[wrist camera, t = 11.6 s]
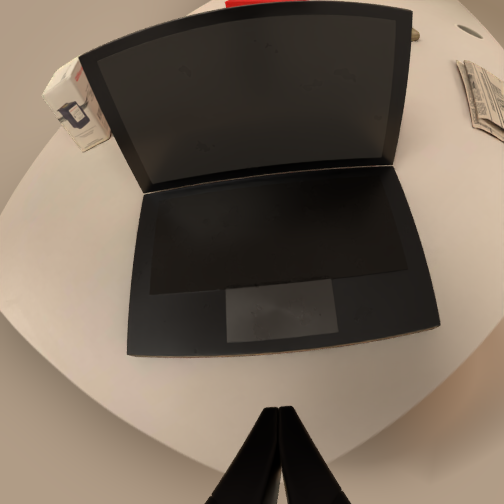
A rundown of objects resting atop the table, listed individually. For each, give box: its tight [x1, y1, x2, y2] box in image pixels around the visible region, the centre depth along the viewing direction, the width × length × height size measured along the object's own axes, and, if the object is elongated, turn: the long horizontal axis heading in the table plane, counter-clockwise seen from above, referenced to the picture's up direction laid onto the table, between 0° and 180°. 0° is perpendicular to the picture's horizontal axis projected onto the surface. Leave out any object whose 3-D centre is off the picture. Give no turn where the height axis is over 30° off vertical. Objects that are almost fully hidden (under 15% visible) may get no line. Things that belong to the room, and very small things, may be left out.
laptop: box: [127, 166, 440, 358], centre depth 23 cm, size 15×24×2 cm, turn 93°
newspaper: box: [456, 60, 504, 141], centre depth 29 cm, size 23×12×2 cm, turn 154°
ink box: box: [42, 55, 110, 152], centre depth 31 cm, size 8×5×12 cm, turn 18°
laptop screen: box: [78, 1, 413, 193], centre depth 19 cm, size 15×24×1 cm
